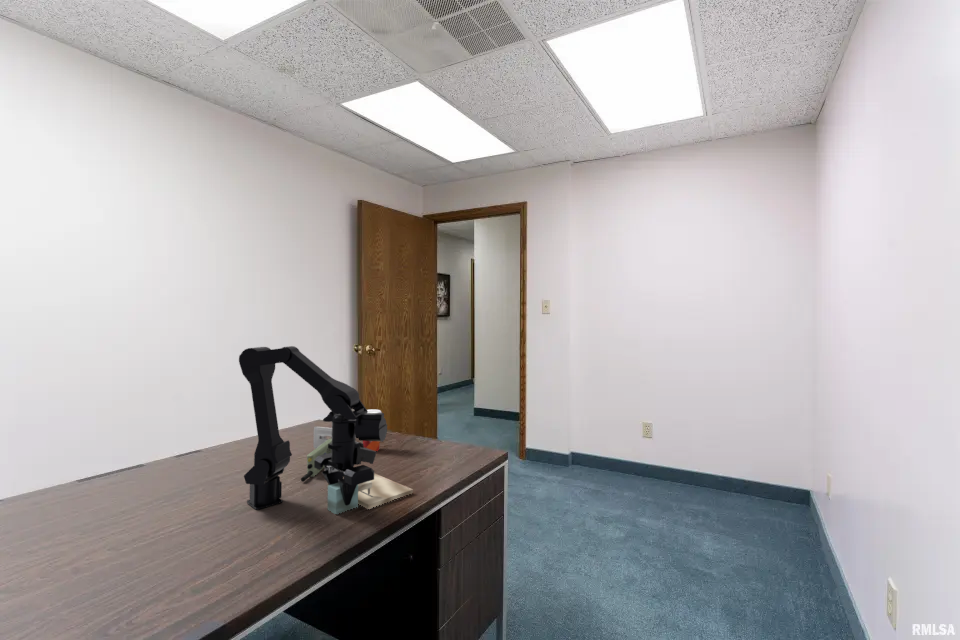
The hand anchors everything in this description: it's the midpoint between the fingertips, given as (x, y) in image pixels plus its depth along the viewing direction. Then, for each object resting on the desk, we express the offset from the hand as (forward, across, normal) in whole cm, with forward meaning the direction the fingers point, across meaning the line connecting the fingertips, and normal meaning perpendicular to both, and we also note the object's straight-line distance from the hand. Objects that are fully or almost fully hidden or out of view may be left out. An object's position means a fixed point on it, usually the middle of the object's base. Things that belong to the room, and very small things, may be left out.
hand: (342, 502), depth 111 cm
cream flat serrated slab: (+2, +5, -11) cm, 12 cm away
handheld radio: (+2, +32, -10) cm, 33 cm away
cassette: (+2, +49, -23) cm, 54 cm away
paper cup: (+2, +37, -33) cm, 50 cm away
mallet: (+1, 0, -3) cm, 3 cm away
